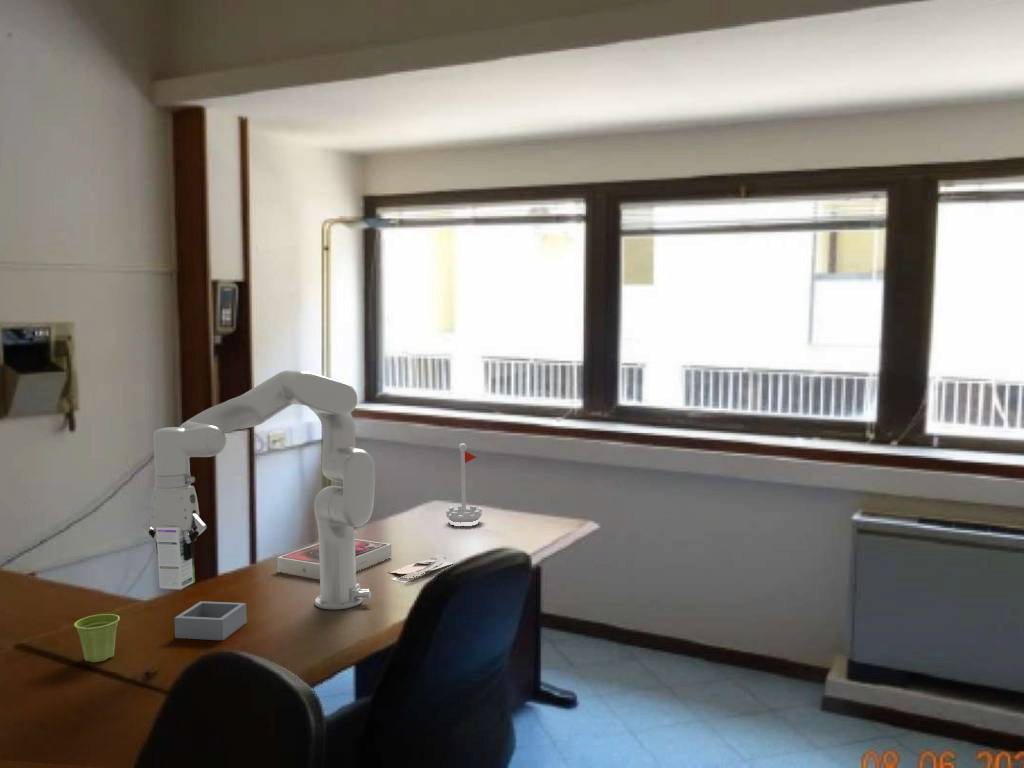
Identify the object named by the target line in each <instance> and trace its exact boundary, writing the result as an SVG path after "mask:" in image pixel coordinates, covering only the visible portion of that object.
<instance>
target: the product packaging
mask: <svg viewBox="0 0 1024 768" xmlns="http://www.w3.org/2000/svg"><path fill="white" fill-rule="evenodd" d="M389 557H392V543H386V542H378V541H373V540H372V541H371V540H364V539H357V538H355V560H356V573H357V571H358V572H360V571H362V570H361V569H363V570H365V569H368V568H369V566H370V567H372V566H371V565H373V566H375V565H377V564H376V563H378V562H380V561H382V560H384V559H387V558H389ZM276 562H277V564H276V565H277V572H278V573H280V572H282V574H286V573H287V574H286V575H293V576H299V577H302V578H303V577H304V578H309V579H315V580H320V558H319V543H316V544H312V545H310V546H307V547H305V548H301V549H298V550H295V551H292V552H289V553H287V554H283V555H280V556H277V558H276ZM380 563H381V562H380ZM374 564H375V565H374ZM378 564H379V563H378ZM367 567H368V568H367ZM364 568H365V569H364ZM359 570H360V571H359Z"/></svg>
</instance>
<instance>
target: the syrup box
mask: <svg viewBox="0 0 1024 768" xmlns="http://www.w3.org/2000/svg"><path fill="white" fill-rule="evenodd" d="M156 533H157V550H156V552H157V551H158V555H157V562H158V563H157V564H158V580H159V581H158V584H159V588H160V589H165V590H183V589H184V588H186V587H188V586H189V585H192V584H194V583H195V582H196V578H195V577H196V575H195V559H194V557H195V556H194V557H193V558H192V559H190V560H188V561H186V560H184V543H186V541H185V538H184V536H183V533H182V531H180V527H175V526H161V527H157V528H156Z"/></svg>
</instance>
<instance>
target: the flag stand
mask: <svg viewBox="0 0 1024 768" xmlns="http://www.w3.org/2000/svg"><path fill="white" fill-rule="evenodd" d="M467 448H468V446H467V445H466V443H464V442H462V443H460V444H459V445H458V450H459V451H460V470H461V471H460V472H461V473H460V475H461V477H460V478H461V480H460V481H461V484H460V485H461V505H458V506H457V508H456V509H455V507H454V506H450V507H447V509H446V511H445V512H446V513H445V515H446V518H448V519H449V520H451V521H453V522H460V523H461V522H473V521H476V520H478V519H479V520H480V518H481V516H482V508H481V507H477V505H469V508H467V496H466V495H467V491H466V490H467V489H466V487H467V485H466V464H467V463H469V462H471V461H472V460H474V459H476V458H477V456H475V455H473V454H471V453H469V452H468V451H467ZM459 515H462V516H459ZM449 520H448V521H449Z"/></svg>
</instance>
